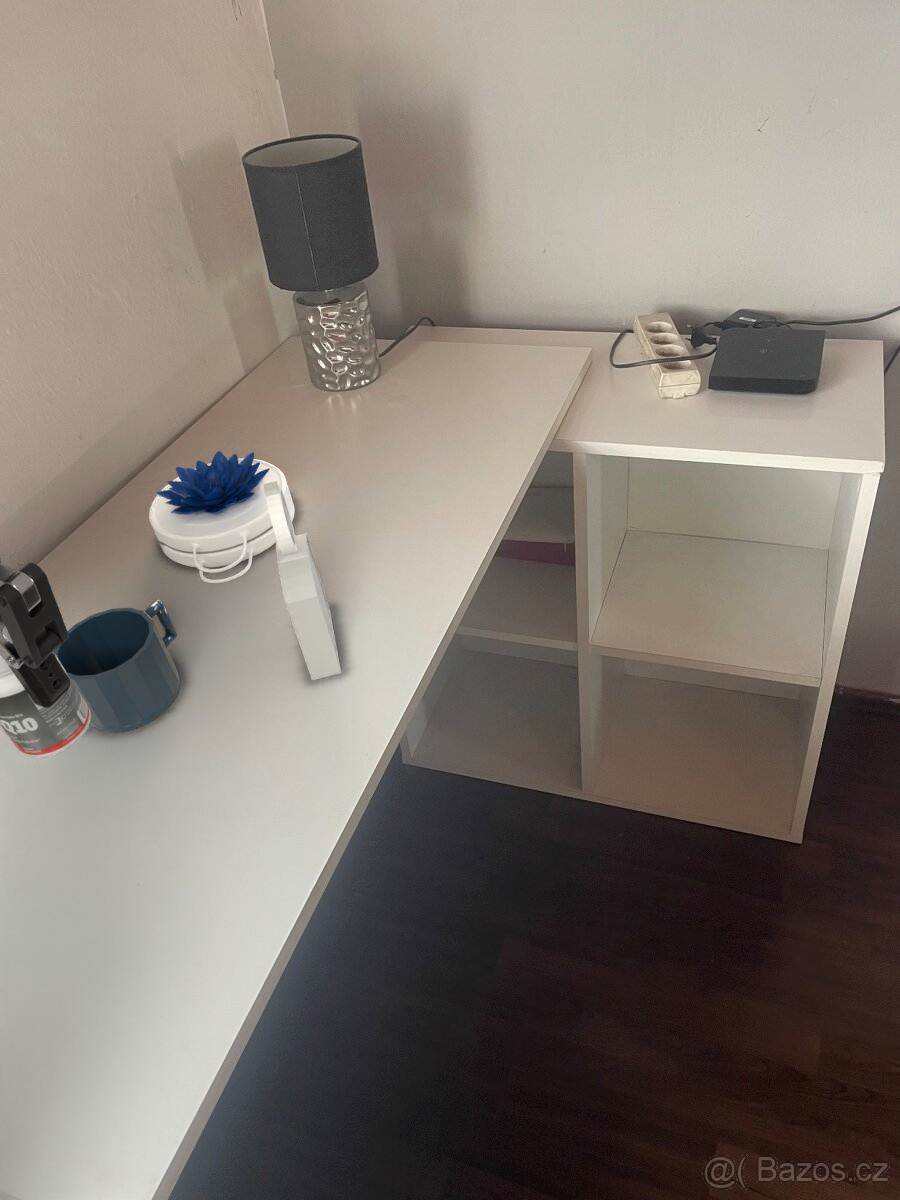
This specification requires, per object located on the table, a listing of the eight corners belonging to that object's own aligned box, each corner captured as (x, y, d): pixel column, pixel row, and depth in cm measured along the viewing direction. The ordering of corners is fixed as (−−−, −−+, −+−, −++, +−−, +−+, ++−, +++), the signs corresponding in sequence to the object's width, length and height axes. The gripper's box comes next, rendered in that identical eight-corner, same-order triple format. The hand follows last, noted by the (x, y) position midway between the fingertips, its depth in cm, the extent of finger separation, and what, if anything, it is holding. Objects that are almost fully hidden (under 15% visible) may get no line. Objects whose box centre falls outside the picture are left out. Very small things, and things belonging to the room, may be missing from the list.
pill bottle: (2, 750, 55) (-69, 658, 49) (52, 695, 58) (-9, 603, 52) (58, 767, 53) (-9, 674, 47) (107, 710, 56) (50, 616, 50)
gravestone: (329, 608, 86) (282, 453, 74) (341, 672, 79) (291, 513, 67) (302, 614, 86) (251, 461, 74) (312, 680, 79) (257, 522, 67)
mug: (137, 743, 76) (105, 689, 71) (64, 718, 80) (30, 665, 75) (216, 653, 83) (192, 599, 79) (147, 634, 87) (120, 581, 82)
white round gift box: (146, 454, 101) (127, 556, 86) (277, 427, 101) (282, 523, 86) (166, 502, 105) (152, 607, 90) (292, 476, 106) (299, 576, 91)
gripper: (-300, 466, 42) (-102, 700, 53) (-115, 515, 36) (63, 766, 47) (-163, 389, 46) (-8, 619, 58) (21, 421, 40) (153, 670, 52)
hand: (24, 684), depth 52 cm, fingers closed on pill bottle, 4 cm apart
